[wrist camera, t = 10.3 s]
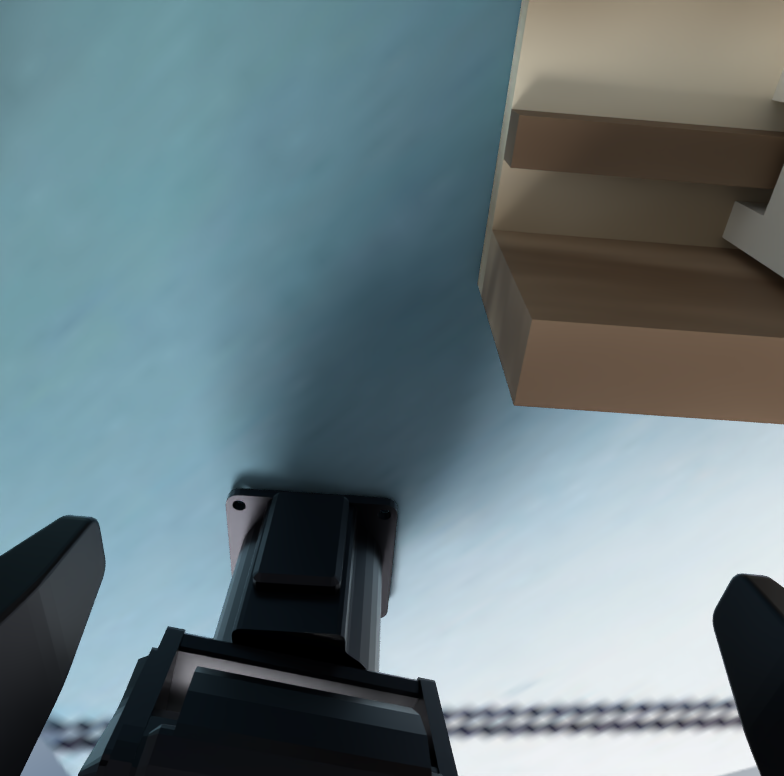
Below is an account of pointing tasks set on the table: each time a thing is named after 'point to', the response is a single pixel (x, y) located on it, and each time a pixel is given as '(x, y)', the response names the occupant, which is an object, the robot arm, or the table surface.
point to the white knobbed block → (761, 220)
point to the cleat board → (638, 209)
